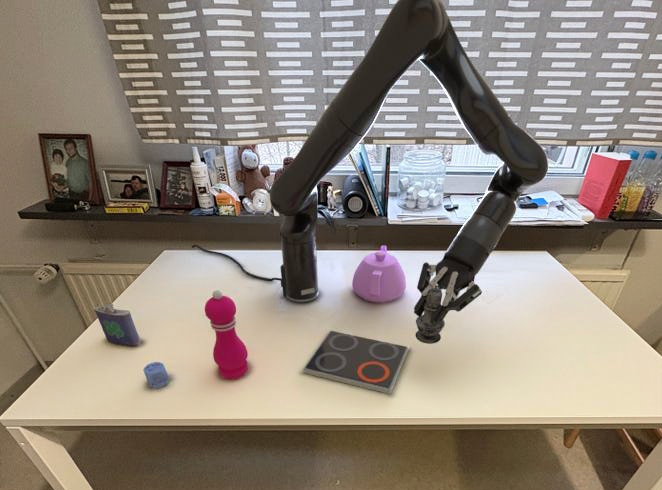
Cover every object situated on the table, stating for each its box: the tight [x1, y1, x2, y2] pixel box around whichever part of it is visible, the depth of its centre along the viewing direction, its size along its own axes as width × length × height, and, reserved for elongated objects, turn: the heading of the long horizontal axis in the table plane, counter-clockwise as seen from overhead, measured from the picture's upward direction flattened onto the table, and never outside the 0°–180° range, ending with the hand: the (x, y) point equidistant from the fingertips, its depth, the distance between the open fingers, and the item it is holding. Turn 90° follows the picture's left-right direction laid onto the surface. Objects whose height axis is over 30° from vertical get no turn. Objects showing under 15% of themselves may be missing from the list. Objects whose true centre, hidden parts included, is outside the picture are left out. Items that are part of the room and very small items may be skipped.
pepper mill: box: [204, 290, 249, 380], centre depth 85 cm, size 7×7×20 cm
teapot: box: [351, 245, 407, 303], centre depth 117 cm, size 22×16×12 cm
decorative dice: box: [142, 361, 170, 389], centre depth 87 cm, size 4×4×4 cm
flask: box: [94, 302, 142, 348], centre depth 96 cm, size 9×3×11 cm, turn 74°
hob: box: [302, 330, 409, 395], centre depth 94 cm, size 20×16×2 cm
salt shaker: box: [414, 285, 446, 345], centre depth 82 cm, size 6×6×12 cm
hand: (425, 318), depth 81 cm, fingers closed on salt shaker, 3 cm apart
